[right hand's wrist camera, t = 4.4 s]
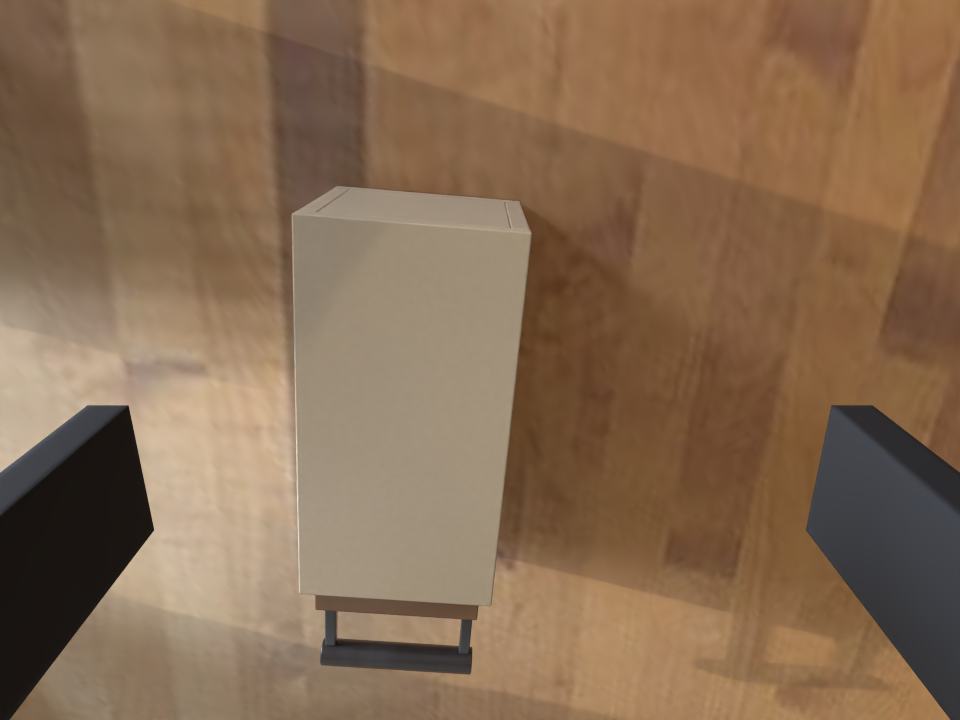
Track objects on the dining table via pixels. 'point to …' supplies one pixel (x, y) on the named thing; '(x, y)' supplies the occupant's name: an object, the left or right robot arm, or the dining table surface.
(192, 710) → the dining table surface
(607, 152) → the dining table surface
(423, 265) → the cabinet
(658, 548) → the dining table surface
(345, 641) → the drawer
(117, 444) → the right robot arm
